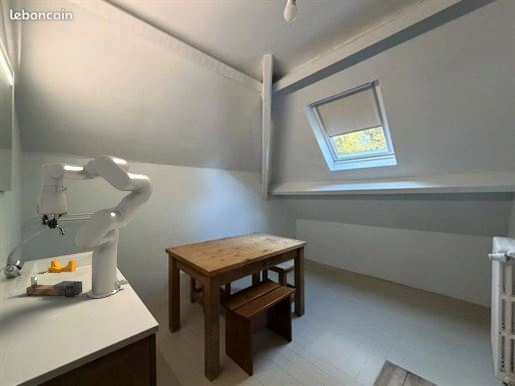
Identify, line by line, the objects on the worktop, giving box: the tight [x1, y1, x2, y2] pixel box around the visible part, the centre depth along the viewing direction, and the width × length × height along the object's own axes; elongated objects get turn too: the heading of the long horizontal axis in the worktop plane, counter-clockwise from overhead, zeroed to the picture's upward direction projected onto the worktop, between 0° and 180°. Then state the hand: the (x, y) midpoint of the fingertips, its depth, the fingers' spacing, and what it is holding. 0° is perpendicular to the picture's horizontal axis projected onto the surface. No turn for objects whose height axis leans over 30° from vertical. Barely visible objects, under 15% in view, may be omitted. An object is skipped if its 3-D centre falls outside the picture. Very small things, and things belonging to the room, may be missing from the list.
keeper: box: [52, 280, 83, 299], centre depth 99 cm, size 9×5×5 cm, turn 86°
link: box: [25, 284, 66, 296], centre depth 100 cm, size 18×5×2 cm, turn 89°
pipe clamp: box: [47, 259, 77, 274], centre depth 126 cm, size 12×4×6 cm, turn 91°
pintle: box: [30, 276, 38, 287], centre depth 100 cm, size 2×2×4 cm
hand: (52, 228), depth 104 cm, fingers closed
